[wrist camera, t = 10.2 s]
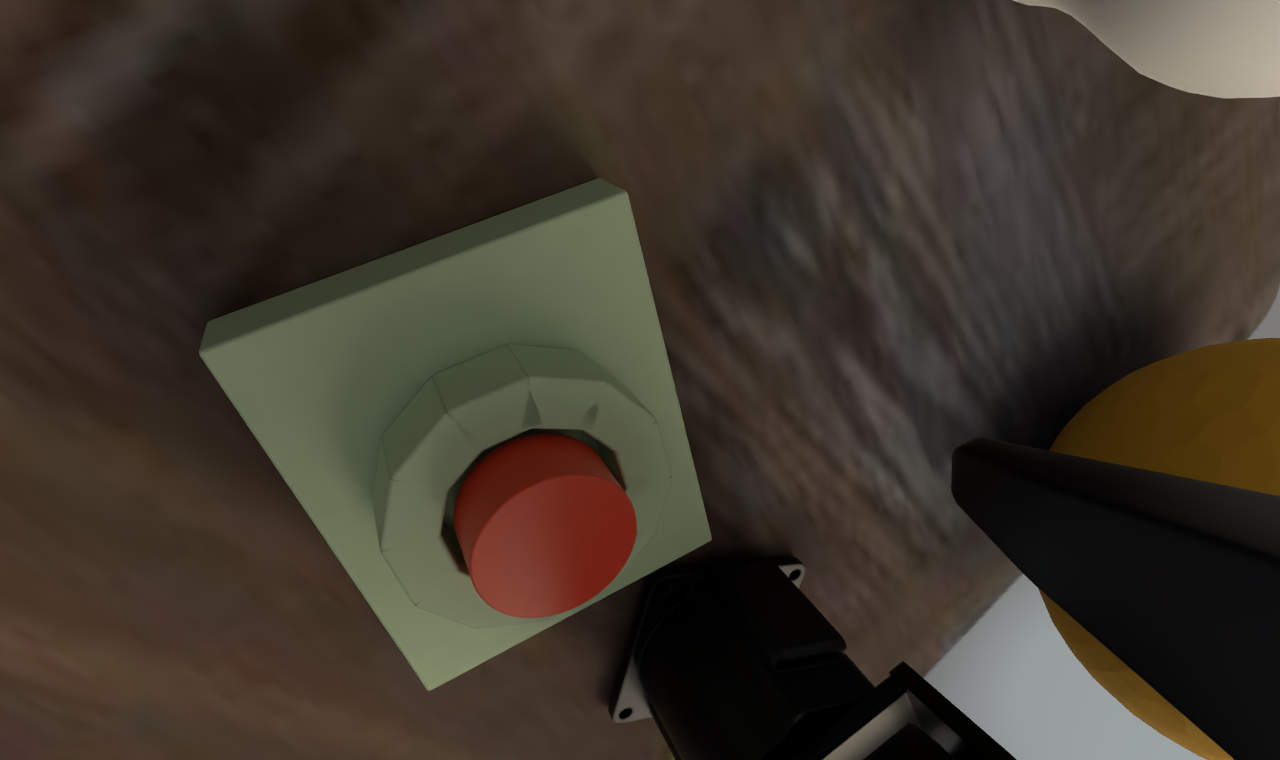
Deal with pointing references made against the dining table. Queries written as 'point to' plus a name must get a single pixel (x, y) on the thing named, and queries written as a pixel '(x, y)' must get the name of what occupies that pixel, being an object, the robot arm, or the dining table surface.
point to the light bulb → (1190, 41)
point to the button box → (464, 404)
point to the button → (543, 525)
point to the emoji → (1179, 472)
